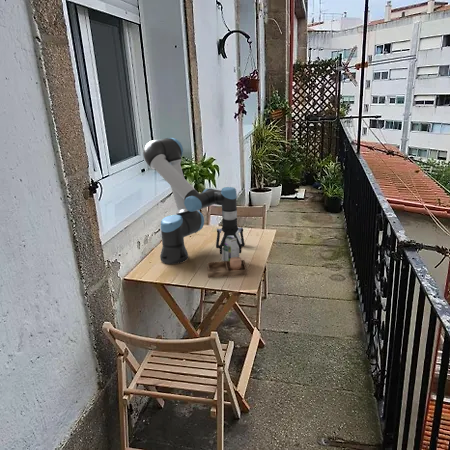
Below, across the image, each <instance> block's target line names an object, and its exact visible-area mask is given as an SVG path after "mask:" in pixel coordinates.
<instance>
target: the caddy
mask: <svg viewBox="0 0 450 450" xmlns="http://www.w3.org/2000/svg"><path fill="white" fill-rule="evenodd" d="M206 266H207V267H206V269H207V278H221V277H222V278H224V277H236V276H237V277H238V276H248V267H247V265H246V261H245V259H241V270H232V271H230V261H209V262H207V263H206Z"/></svg>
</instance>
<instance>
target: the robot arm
mask: <svg viewBox="0 0 450 450" xmlns="http://www.w3.org/2000/svg"><path fill="white" fill-rule="evenodd" d="M142 155H143V157H144V158H143V159H144V160H145V162H146V164H147V165H148V167H150V168H151V169H152V170H155V171H156V172H157V173H158V174H159V175H160V176H161V177H162V179H163V180H165V181H166V182H167V184H168V185H170V188H171V189H170V190H171V191H172V195H173V198H174V201H175V204H176V208H177V211H176V213H175V214H172V215H167V216H165V217H163V218H162V219H161V221H160V233H161V242H162V248H161V251H160V256H159V257H160V258H159V259H160V261H161V262H162V263H163V264H167V265H177V264H183V263H184V262H187V260H188V259H189V252H188V251H187V248H186V246H185V238H186V237H188V236H191V235H192V234H196V233H198V232H200V231H201V230H202V229H203V228H204V225H205V217H204V215H203V213H201V211H200V210H202V209H204V208H208V207H210V206H213V205H216V206H221V218H222V219H221V221H222V223H221V224H222V225H221V226H222V227H221V228H216V233H217V235H216V241H215V247H216V249H219V254H220V255H221V260H222V261H224V251H223V244H224V242H225V239H226V237H227V236H230V235H231V236H233V235H234V237H235V238H236V239H237V244H238V257H240V254H242V248H243V247H245V246H246V243H245V239H244V234H243V233H244V228H243V227H239V226H238V218H237V217H238V207H237V205H238V204H237V203H238V200H237V199H238V195H237V189H236V188H235V187H233V186H230V187H229V186H227V187H222V188H221V189H214V188H205V189H204V190H203V191H202V192H200V193H199V192H198V190H196V188H194V186H192V185H191V183H190V182H189V181H188V180H186V179H185V175H184V173H183V169H182V166H181V163H182V156H183V155H184V147H183V145H182V142H180V141H179V140H178V139H177V138H175V137H167V138H160V139H153V140H150V141H149V142H147V143H146V144H145V146H144V147H143V154H142ZM238 227H239V228H238ZM237 230H239V235H240V238H241V241H242V243H241V244H240V242H239V240H238V238H237V236H236V232H237ZM221 233H223V237H222V238H221ZM220 238H221V242H220Z"/></svg>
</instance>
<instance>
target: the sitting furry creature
mask: <svg viewBox="0 0 450 450" xmlns="http://www.w3.org/2000/svg"><path fill="white" fill-rule="evenodd" d="M237 227H238V228H240V227H239V226H237ZM233 236H234V235H233ZM236 236H237V238H238V240H239V242H240V244H242V241H241V236H240V232H239V230H237V232H236Z"/></svg>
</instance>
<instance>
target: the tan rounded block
mask: <svg viewBox="0 0 450 450" xmlns="http://www.w3.org/2000/svg"><path fill="white" fill-rule="evenodd" d="M241 260H242V258H241V257H240V256H239V257H232V258H230V271H232V270H241Z"/></svg>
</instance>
